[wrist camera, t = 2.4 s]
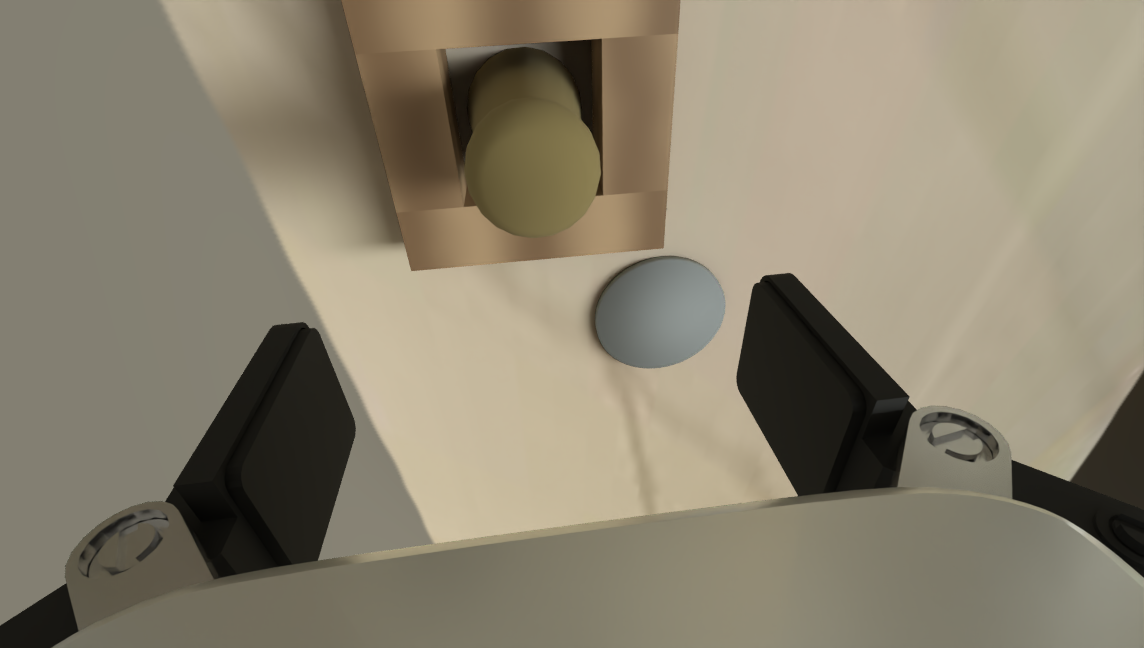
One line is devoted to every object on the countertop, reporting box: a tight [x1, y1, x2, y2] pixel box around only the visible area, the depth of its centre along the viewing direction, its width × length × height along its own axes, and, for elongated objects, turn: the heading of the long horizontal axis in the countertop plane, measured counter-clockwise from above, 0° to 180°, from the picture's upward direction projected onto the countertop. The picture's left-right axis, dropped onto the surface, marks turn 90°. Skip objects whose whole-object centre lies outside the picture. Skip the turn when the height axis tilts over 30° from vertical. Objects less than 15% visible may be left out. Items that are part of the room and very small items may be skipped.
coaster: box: [595, 256, 725, 368], centre depth 36 cm, size 9×9×1 cm
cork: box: [464, 47, 601, 238], centre depth 23 cm, size 6×6×11 cm
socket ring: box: [341, 0, 680, 271], centre depth 26 cm, size 14×14×4 cm
